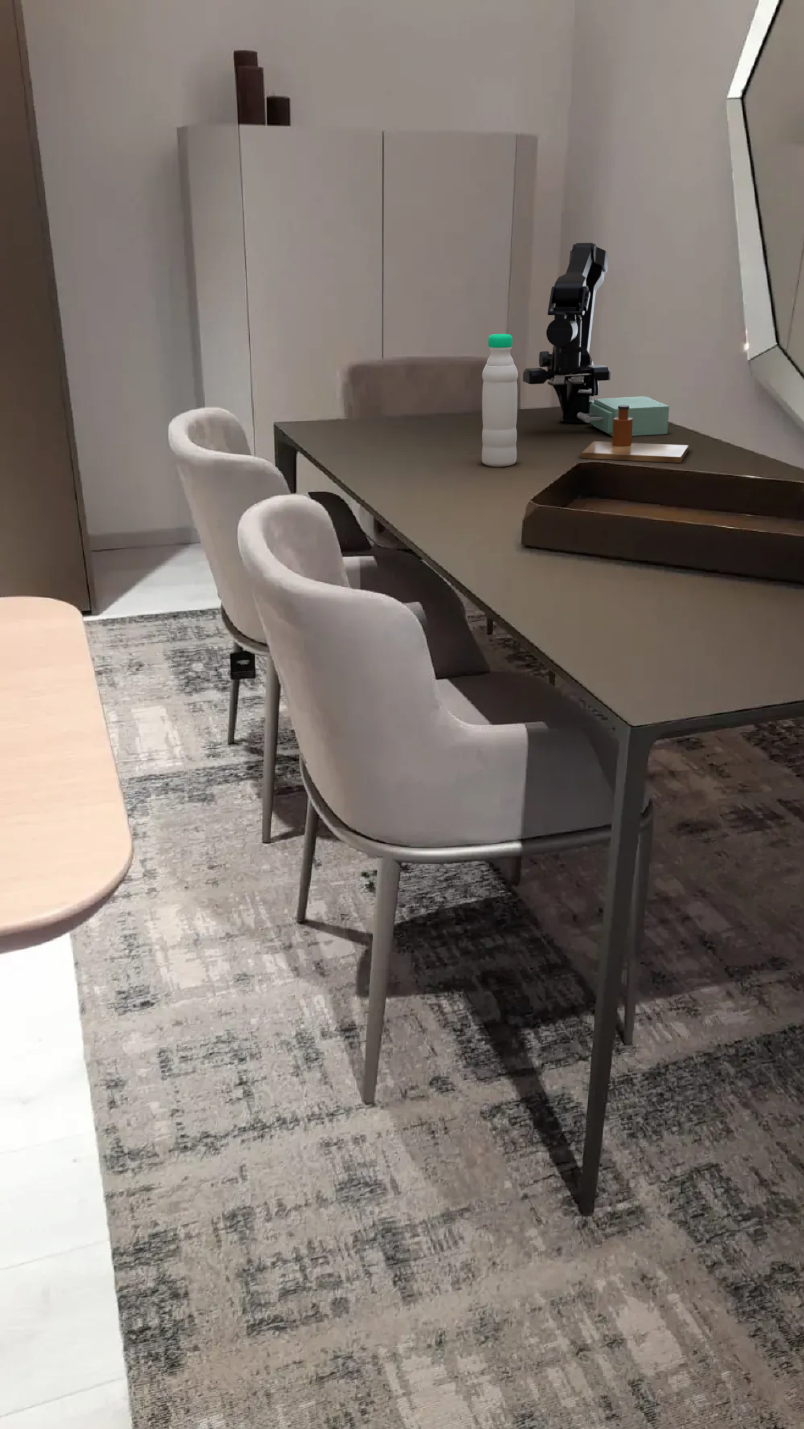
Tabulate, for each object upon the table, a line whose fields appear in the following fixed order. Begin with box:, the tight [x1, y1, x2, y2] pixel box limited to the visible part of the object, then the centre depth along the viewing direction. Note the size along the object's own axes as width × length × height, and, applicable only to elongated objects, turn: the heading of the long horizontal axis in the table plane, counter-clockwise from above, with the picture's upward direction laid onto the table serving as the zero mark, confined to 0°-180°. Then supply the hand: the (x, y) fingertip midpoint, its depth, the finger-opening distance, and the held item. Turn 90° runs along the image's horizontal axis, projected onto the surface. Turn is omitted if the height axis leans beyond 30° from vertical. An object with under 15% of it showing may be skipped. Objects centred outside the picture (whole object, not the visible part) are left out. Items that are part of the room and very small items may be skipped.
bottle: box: [611, 405, 633, 447], centre depth 230 cm, size 4×4×8 cm
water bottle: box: [481, 333, 519, 468], centre depth 219 cm, size 7×7×25 cm
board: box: [581, 440, 689, 464], centre depth 228 cm, size 20×12×1 cm, turn 69°
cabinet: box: [592, 395, 670, 437], centre depth 252 cm, size 13×15×6 cm
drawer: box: [577, 403, 614, 434], centre depth 251 cm, size 16×13×4 cm
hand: (565, 414), depth 249 cm, fingers closed
